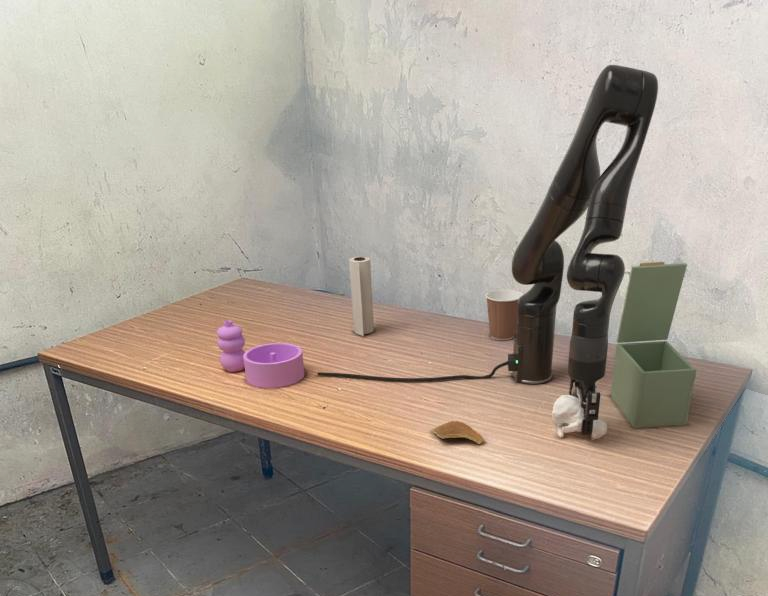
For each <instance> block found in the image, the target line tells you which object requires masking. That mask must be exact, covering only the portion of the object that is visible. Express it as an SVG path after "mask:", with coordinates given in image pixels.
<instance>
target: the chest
mask: <svg viewBox="0 0 768 596" xmlns="http://www.w3.org/2000/svg"><path fill="white" fill-rule="evenodd" d="M613 361H614V363H613V369H612V376H611V377H612V378H611V385H610V394H609V395H610V397H611V399H612V400H613V401H614V403H615V404H616V405H617V406H618V408H619V409H620V410H621V412H622V413H623V415H624V416H625V418H626V419H627V420H628V422H629V423H630V424H631V426H632V428H634V429H639V428H641V429H642V428H653V427H655V428H656V427H657V428H658V427H669V426H670V427H672V426H685V425H687V424H688V419H689V413H690V410H691V409H690V407H691V403H692V397H693V391H694V386H695V381H696V375H697V369H696V367H694V366H693V365H692V364H691V362H689V361H688V360H687V359H686V358H685V357H684V356H683V355H682V354H681V353H680V352H679V351H678V350H677V349H676V348H674V346H672V345H671V344H670V342H668V341H667V340H657V341H641V342H625V343H616V346H615V353H614V360H613Z"/></svg>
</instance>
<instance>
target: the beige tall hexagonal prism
mask: <svg viewBox="0 0 768 596" xmlns="http://www.w3.org/2000/svg"><path fill="white" fill-rule="evenodd" d="M348 259H349V260H348V266H349V280H350V281H349V282H350V295H351V309H352V323H353V333H355V334H356V335H358V336H359V335H360V336H362V337H365V335H367V334H368V335H369V334H371V333H373V332H374V331H375V325H374V323H375V322H374V306H373V305H374V303H373V288H372V270H371V269H372V268H371V267H372V266H371V258H370V257H367V256H355V257H351V258H348Z"/></svg>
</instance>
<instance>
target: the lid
mask: <svg viewBox="0 0 768 596" xmlns="http://www.w3.org/2000/svg"><path fill="white" fill-rule="evenodd" d="M687 267H688V264H687V263H686V262H683V263H666V264H665V261H656V262H655V261H653V262H640V264H639V265H633V266H631V270H630V274H629V278H628V284H627V289H626V293H625V298H624V304H623V306H622V307H623V308H622V311H621V312H622V313H621V317H620V322H619V327H618V332H617V336H616V344H624V343H640V342H656V341H667V340H668V338H669V335H670V331H671V327H672V323H673V320H674V317H675V312H676V308H677V304H678V301H679V297H680V293H681V290H682V286H683V282H684V278H685V275H686V270H687Z"/></svg>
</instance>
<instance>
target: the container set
mask: <svg viewBox="0 0 768 596" xmlns="http://www.w3.org/2000/svg"><path fill="white" fill-rule="evenodd" d="M216 335H217V337H218V339H217V340H216V341H217V347H218V348H219V349H220V350H221V351H222V352H221V354H220V356H219V362H220V366H221V367H222V368H223V369H225V370H226V371H227V372H228V373H229V372H230V373H236V372H242V371H243V370H244V372H245V379H246V382H247V383H248V384H249V385H250V386H253V387H256V388H263V389H277V388H284V387H287V386H292V385H294V384H296V383H298V382H300V381H301V380H302V379H304V378H305V374H306V373H305V366H304V365H305V363H304V356H303V349H302V348H301V346H298V345H296V344H292V343H286V342H273V343H265V344H260V345H256V346H253V347H251V348H249V349H247V350H246V351H245V350H244V349H243V348H244V346H245V344H246V339H245V336H243V328H242V327H241V326H239V325H237V324H233V320H232V319H226V320H224V321H223V325H222V326H220V327H219V328H218V329H217V331H216Z"/></svg>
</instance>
